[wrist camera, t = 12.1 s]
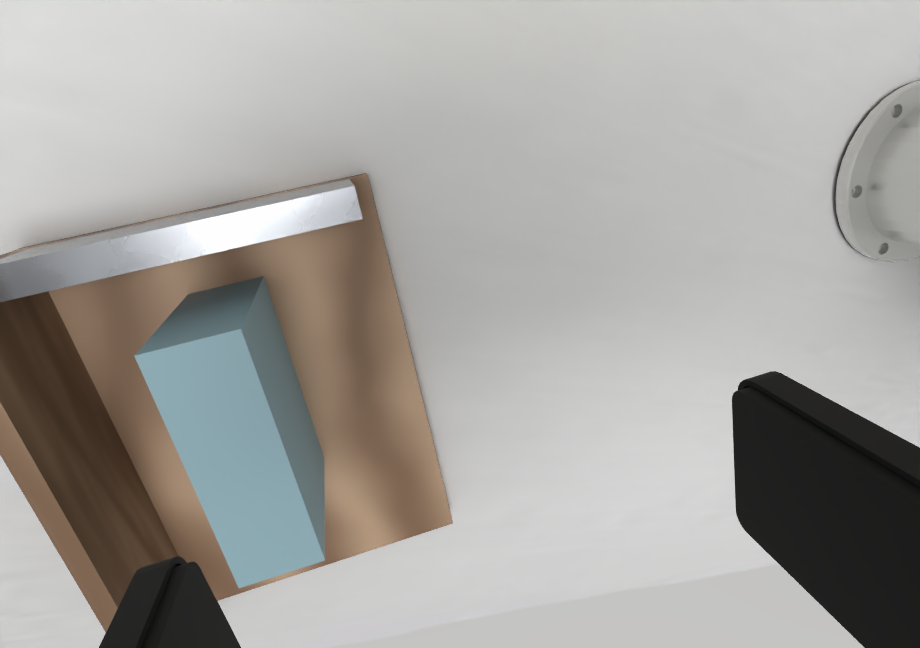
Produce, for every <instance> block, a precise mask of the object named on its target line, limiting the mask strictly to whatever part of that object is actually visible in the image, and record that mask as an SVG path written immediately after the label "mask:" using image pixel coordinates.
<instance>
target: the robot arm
mask: <svg viewBox="0 0 920 648" xmlns="http://www.w3.org/2000/svg"><path fill="white" fill-rule="evenodd" d="M836 213H837V217H838V221H839V225H840V228H841V230H842V232H843V234H844V236H845V238H846V240H847V241H848V242H849V243H850V245H851V246H852V247H853V248H854V249H855V250H857V251H858V252H860V253H861V254H863V255H864V256H867V257H870V258H873V259H877V260H883V261H889V262H899V261H907V260H910V259H913V258H917V257H919V256H920V81H915V82H912V83H909V84H907V85H905V86H903V87H901V88H899V89H897V90H896V91H894V92H893V93H891V94H890V95H889V96H887V97H886V98H884V99H883V100H882V101H881V102H880V103H879V104H878V105H877V106H876V107H875V108H874V109H873V110H872V111H871V112H870V113H869V114H868V116H867V117H866V118H865V120H864V121H863V122H862V124H861V125H860V126H859V127H858V129H857V131H856V133H855V134H854V136H853V138H852V140H851V142H850V143H849V145H848V148H847V150H846V153H845V155H844V158H843V160H842V163H841V167H840V171H839V175H838V179H837V187H836ZM732 413H733V441H734V469H735V497H736V513H737V517H738V520H739V522H740V524H741V525H742V527H743V528H744V530H745V531H746V532H747V533H748V534H749V535H750V536H751V537H752V538H753V539H754V540H755V541H756V542H757V543H758V544H759V545H760V546H761V547H762V548H763V549H764V550H765V551H766V552H767V553H768V554H769V555H770V556H771V557H772V558H773V559H774V560H776V561H777V562H778V563H779V564H780V565H781V566H782V567H783V568H784V569H785V570H786V571H787V572H788V573H789V574H790V575H791V576H792V577H793V578H794V579H795V580H796V581H797V582H798V583H799V584H800V585H801V586H802V587H803V588H804V589H805V590H806V591H807V592H808V593H810V595H811V596H812V597H814V599H815V600H816V601H817V602H819V603H820V604H821V605H822V606H823V607H824V608H825V609H826V610H827V611H828V612H829V613H830V614H831V615H832V616H833V617H834V618H835V619H836V620H837V621H838V622H839V623H840V624H841V625H842V626H843V627H844V628H845V629H846V630H847V631H848V632H849V633H851V635H852V636H853V637H854V638H856V639H857V641H858V642H859V643H860V644H862V645H863V646H864V647H865V648H920V448H919V447H917V446H915V445H914V444H912V443H910V442H908V441H906V440H904V439H902V438H900V437H899V436H897V435H895V434H893V433H891V432H889V431H887V430H886V429H884V428H882V427H880V426H878V425H876V424H874V423H873V422H871V421H869V420H867V419H865V418H863V417H861V416H859V415H858V414H856V413H854V412H852V411H850V410H848V409H846V408H845V407H843V406H841V405H839V404H837V403H835V402H833V401H832V400H830V399H828V398H826V397H824V396H822V395H820V394H819V393H817V392H815V391H813V390H811V389H809V388H807V387H805V386H804V385H802V384H800V383H798V382H796V381H794V380H792V379H791V378H789V377H787V376H785V375H783V374H781V373H779V372H776V371H774V372H768V373H765V374H762V375H758V376H755V377H752V378H749V379H746V380H743V381H742V382H740V384H739V386H738V391H736V392H735V393H734V394H733V396H732ZM99 648H241V647H240V645H239V643H238V641H237V639H236V637H235V635H234V633H233V631H232V629H231V627H230V625H229V623H228V621H227V619H226V617H225V615H224V614H223V612H222V610H221V608H220V606H219V604H218V602H217V600H216V598H215V596H214V594H213V592H212V590H211V588H210V586H209V584H208V582H207V580H206V578H205V576H204V574H203V573H202V571H201V569H200V567H199V565H198V564H197V563H196V562H189V563H187V562H186V561H185V559H183V558H182V557H179V556H176V557H173V558H170V559H167V560H163V561H160V562H157V563H154V564H150V565H147V566H144V567H141V568H140V569H138V570H137V571H136V573H135V574H134V576H133V578H132V580H131V582H130V584H129V586H128V588H127V590H126V592H125V594H124V597H123V599H122V601H121V603H120V605H119V607H118V609H117V611H116V613H115V615H114V617H113V619H112V621H111V624H110V626H109V628H108V630H107V632H106V634H105V636H104V638H103V640H102V642H101V644H100V646H99Z"/></svg>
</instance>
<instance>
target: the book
mask: <svg viewBox="0 0 920 648" xmlns="http://www.w3.org/2000/svg"><path fill="white" fill-rule="evenodd" d="M134 357H135V359H136V361H137V363H138V365H139V368H140V370H141V372H142V374H143V377H144V379H145V381H146V383H147V385H148V388H149V390H150V392H151V394H152V397H153V399H154V401H155V403H156V405H157V408H158V410H159V412H160V414H161V417H162V419H163V421H164V423H165V425H166V428H167V430H168V432H169V434H170V437H171V439H172V441H173V443H174V445H175V448H176V450H177V452H178V454H179V457H180V459H181V461H182V463H183V465H184V468H185V470H186V472H187V474H188V477H189V479H190V481H191V483H192V485H193V488H194V490H195V492H196V494H197V497H198V499H199V501H200V503H201V506H202V508H203V510H204V512H205V514H206V517H207V519H208V521H209V523H210V526H211V528H212V530H213V532H214V534H215V537H216V539H217V541H218V543H219V546H220V548H221V550H222V552H223V554H224V557H225V559H226V561H227V563H228V566H229V568H230V570H231V572H232V574H233V577H234V579H235V581H236V583H237V586H238V588H242V587H245V586H248V585H251V584H254V583H258V582H261V581H264V580H267V579H270V578H273V577H276V576H279V575H282V574H285V573H288V572H291V571H294V570H297V569H300V568H303V567H307V566H310V565H313V564H316V563H319V562H322V561H325V475H324V455H323V452H322V449H321V446H320V443H319V440H318V437H317V434H316V431H315V428H314V425H313V422H312V419H311V416H310V413H309V410H308V407H307V404H306V401H305V398H304V395H303V392H302V389H301V386H300V383H299V380H298V377H297V374H296V371H295V368H294V365H293V362H292V359H291V356H290V353H289V350H288V347H287V344H286V341H285V338H284V335H283V332H282V329H281V326H280V323H279V320H278V317H277V314H276V311H275V308H274V305H273V302H272V299H271V296H270V293H269V290H268V287H267V284H266V281H265V278H264V276H262V277H258V278H254V279H249V280H245V281H241V282H237V283H233V284H228V285H224V286H220V287H216V288H212V289H208V290H203V291H199V292H195V293H191V294H188V295H187V296H186V297H185V298H184V299H183V301H182V302H181V303H180V304H179V305H178V306H177V307H176V309H175V310H174V311H173V312H172V313H171V314H170V315H169V317H168V318H167V319H166V320H165V321H164V322H163V323H162V325H161V326H160V327H159V328H158V329H157V330H156V331H155V333H154V334H153V335H152V336H151V337H150V338H149V339H148V341H147V342H146V343H145V344H144V345H143V346H142V347H141V349H140V350H139V351H138V352H137V353H136V354H135V355H134Z"/></svg>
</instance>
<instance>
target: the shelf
mask: <svg viewBox="0 0 920 648" xmlns="http://www.w3.org/2000/svg"><path fill="white" fill-rule="evenodd" d="M262 276H264V278H265V281H266V284H267V287H268V290H269V293H270V296H271V299H272V302H273V305H274V308H275V311H276V314H277V317H278V320H279V323H280V326H281V329H282V332H283V335H284V338H285V341H286V344H287V347H288V350H289V353H290V356H291V359H292V362H293V365H294V368H295V371H296V374H297V377H298V380H299V383H300V386H301V389H302V392H303V395H304V398H305V401H306V404H307V407H308V410H309V413H310V416H311V419H312V422H313V425H314V428H315V431H316V434H317V437H318V440H319V443H320V446H321V449H322V452H323V455H324V475H325V561H322V562H319V563H316V564H313V565H310V566H307V567H303V568H300V569H297V570H294V571H291V572H288V573H285V574H282V575H279V576H276V577H273V578H270V579H267V580H264V581H261V582H258V583H254V584H251V585H248V586H245V587H242V588H238V586H237V583H236V581H235V579H234V577H233V574H232V572H231V570H230V568H229V566H228V563H227V561H226V559H225V557H224V554H223V552H222V550H221V548H220V546H219V543H218V541H217V539H216V537H215V534H214V532H213V530H212V528H211V526H210V523H209V521H208V519H207V517H206V514H205V512H204V510H203V508H202V506H201V503H200V501H199V499H198V497H197V494H196V492H195V490H194V488H193V485H192V483H191V481H190V479H189V477H188V474H187V472H186V470H185V468H184V465H183V463H182V461H181V459H180V457H179V454H178V452H177V450H176V448H175V445H174V443H173V441H172V439H171V437H170V434H169V432H168V430H167V428H166V425H165V423H164V421H163V419H162V417H161V414H160V412H159V410H158V408H157V405H156V403H155V401H154V399H153V397H152V394H151V392H150V390H149V388H148V385H147V383H146V381H145V379H144V377H143V374H142V372H141V370H140V368H139V365H138V363H137V361H136V359H135V357H134V355H135V354H136V353H137V352H138V351H139V350H140V349H141V347H142V346H143V345H144V344H145V343H146V342H147V341H148V339H149V338H150V337H151V336H152V335H153V334H154V333H155V331H156V330H157V329H158V328H159V327H160V326H161V325H162V323H163V322H164V321H165V320H166V319H167V318H168V317H169V315H170V314H171V313H172V312H173V311H174V310H175V309H176V307H177V306H178V305H179V304H180V303H181V302H182V301H183V299H184V298H185V297H186V296H187V295H188V294H191V293H195V292H199V291H203V290H208V289H212V288H216V287H220V286H224V285H228V284H233V283H237V282H241V281H245V280H249V279H254V278H258V277H262ZM0 455H1V457H2V458H3V460H4V462H5V463H6V465H7V467H8V468H9V470H10V472H11V474H12V475H13V477H14V479H15V480H16V482H17V484H18V485H19V487H20V489H21V490H22V492H23V494H24V495H25V497H26V499H27V500H28V502H29V504H30V505H31V507H32V509H33V511H34V512H35V514H36V516H37V517H38V519H39V521H40V522H41V524H42V526H43V527H44V529H45V531H46V532H47V534H48V536H49V537H50V539H51V541H52V543H53V544H54V546H55V548H56V549H57V551H58V553H59V554H60V556H61V558H62V559H63V561H64V563H65V564H66V566H67V568H68V569H69V571H70V573H71V574H72V576H73V578H74V580H75V581H76V583H77V585H78V586H79V588H80V590H81V591H82V593H83V595H84V596H85V598H86V600H87V601H88V603H89V605H90V606H91V608H92V610H93V612H94V613H95V615H96V617H97V618H98V620H99V622H100V623H101V625H102V627H103V628H104V630H105V632H107V630H108V628H109V626H110V624H111V621H112V619H113V617H114V615H115V613H116V611H117V609H118V607H119V605H120V603H121V601H122V599H123V597H124V594H125V592H126V590H127V588H128V586H129V584H130V582H131V580H132V578H133V576H134V574H135V573H136V571H137V570H138V569H140V568H141V567H144V566H147V565H150V564H154V563H157V562H160V561H163V560H167V559H170V558H173V557H176V556H179V557H182V558H183V559H185V561H186V562H187V563H189V562H196V563H197V564H198V565H199V567H200V569H201V571H202V573H203V574H204V576H205V578H206V580H207V582H208V584H209V586H210V588H211V590H212V592H213V594H214V596H215V598H216V600H217V601H218V600H221V599H224V598H227V597H230V596H233V595H236V594H239V593H242V592H245V591H248V590H251V589H254V588H257V587H260V586H263V585H266V584H269V583H273V582H276V581H279V580H282V579H285V578H288V577H291V576H294V575H297V574H300V573H303V572H306V571H309V570H312V569H315V568H318V567H321V566H324V565H327V564H330V563H333V562H336V561H339V560H343V559H346V558H349V557H352V556H355V555H358V554H361V553H364V552H367V551H370V550H373V549H376V548H379V547H382V546H385V545H388V544H391V543H394V542H397V541H400V540H403V539H406V538H409V537H413V536H416V535H419V534H422V533H425V532H428V531H431V530H434V529H437V528H440V527H443V526H446V525H449V524H452V523H453V521H452V517H451V513H450V509H449V505H448V501H447V497H446V493H445V488H444V484H443V480H442V476H441V472H440V468H439V464H438V460H437V456H436V452H435V448H434V444H433V440H432V435H431V431H430V427H429V423H428V419H427V415H426V411H425V407H424V403H423V399H422V395H421V391H420V387H419V382H418V378H417V374H416V370H415V366H414V362H413V358H412V354H411V350H410V346H409V342H408V338H407V334H406V330H405V325H404V321H403V317H402V313H401V309H400V305H399V301H398V297H397V293H396V289H395V285H394V281H393V277H392V272H391V268H390V264H389V260H388V256H387V252H386V248H385V244H384V240H383V236H382V232H381V228H380V224H379V219H378V215H377V211H376V207H375V203H374V199H373V195H372V191H371V187H370V183H369V179H368V175H367V174H366V173H365V174H360V175H356V176H351V177H346V178H342V179H337V180H333V181H328V182H323V183H319V184H314V185H310V186H305V187H300V188H296V189H291V190H287V191H282V192H277V193H273V194H268V195H263V196H259V197H254V198H250V199H245V200H240V201H236V202H231V203H227V204H222V205H217V206H213V207H208V208H204V209H199V210H194V211H190V212H185V213H181V214H176V215H171V216H167V217H162V218H158V219H153V220H148V221H144V222H139V223H134V224H130V225H125V226H121V227H116V228H111V229H107V230H102V231H98V232H93V233H88V234H84V235H79V236H75V237H70V238H65V239H61V240H56V241H52V242H47V243H42V244H38V245H33V246H29V247H24V248H20V249H17V250H14V251H12V252H9V253H6V254H3V255H0Z"/></svg>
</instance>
